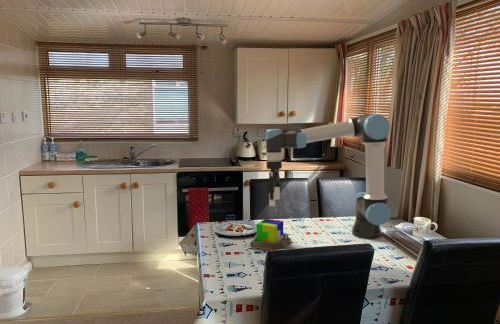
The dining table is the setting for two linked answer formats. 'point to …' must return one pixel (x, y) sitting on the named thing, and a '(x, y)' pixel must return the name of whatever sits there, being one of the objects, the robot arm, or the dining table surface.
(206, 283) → the dining table surface
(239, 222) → the ceramic plate
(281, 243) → the pocket board
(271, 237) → the puzzle toy
